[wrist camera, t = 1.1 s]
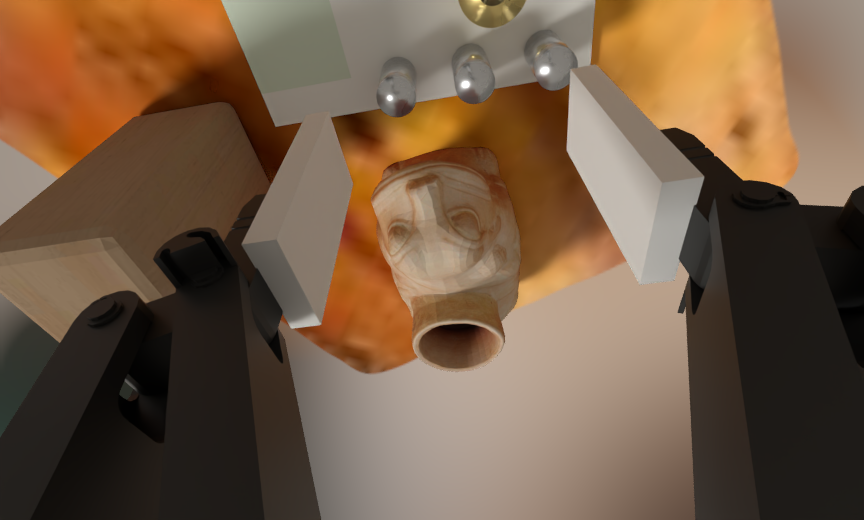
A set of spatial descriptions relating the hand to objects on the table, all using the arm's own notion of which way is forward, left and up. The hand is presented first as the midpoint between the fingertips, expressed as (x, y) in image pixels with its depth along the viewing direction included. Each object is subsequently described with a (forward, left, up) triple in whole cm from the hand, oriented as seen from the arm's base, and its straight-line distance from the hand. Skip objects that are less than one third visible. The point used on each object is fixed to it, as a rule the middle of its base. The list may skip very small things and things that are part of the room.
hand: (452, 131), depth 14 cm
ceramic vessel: (+22, -2, -25) cm, 34 cm away
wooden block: (+10, -24, -25) cm, 36 cm away
